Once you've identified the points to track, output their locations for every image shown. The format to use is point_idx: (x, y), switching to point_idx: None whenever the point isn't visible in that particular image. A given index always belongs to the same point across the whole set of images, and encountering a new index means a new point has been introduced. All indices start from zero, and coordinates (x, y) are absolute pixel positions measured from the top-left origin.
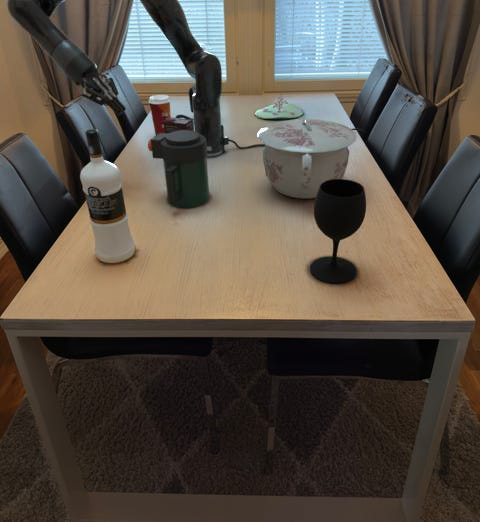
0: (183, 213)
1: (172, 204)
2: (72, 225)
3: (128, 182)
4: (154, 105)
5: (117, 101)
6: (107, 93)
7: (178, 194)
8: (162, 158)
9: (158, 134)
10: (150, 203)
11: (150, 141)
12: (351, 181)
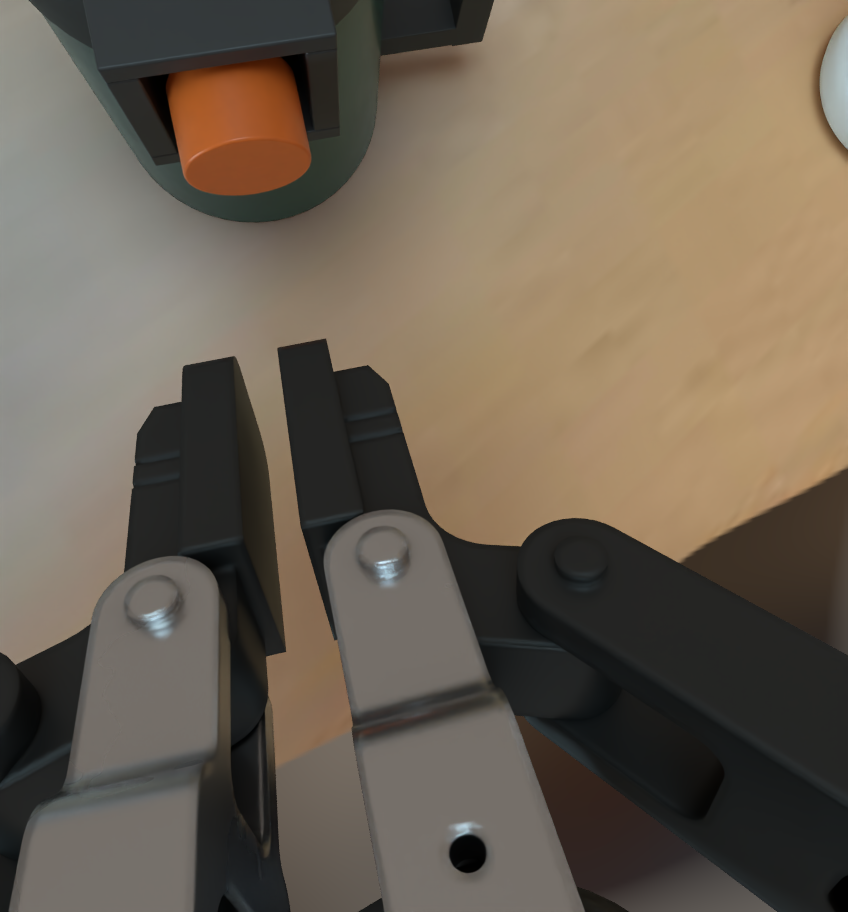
0: None
1: (372, 131)
2: (803, 488)
3: None
4: None
5: (237, 485)
6: (373, 684)
7: (399, 7)
8: (348, 10)
9: (148, 51)
10: (408, 272)
11: (276, 115)
12: None
